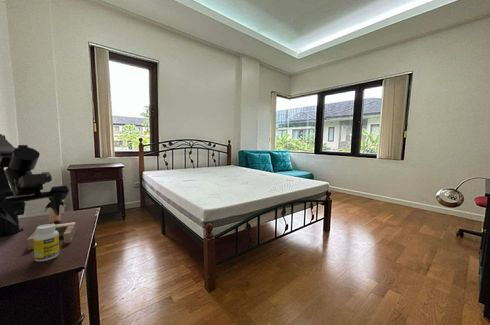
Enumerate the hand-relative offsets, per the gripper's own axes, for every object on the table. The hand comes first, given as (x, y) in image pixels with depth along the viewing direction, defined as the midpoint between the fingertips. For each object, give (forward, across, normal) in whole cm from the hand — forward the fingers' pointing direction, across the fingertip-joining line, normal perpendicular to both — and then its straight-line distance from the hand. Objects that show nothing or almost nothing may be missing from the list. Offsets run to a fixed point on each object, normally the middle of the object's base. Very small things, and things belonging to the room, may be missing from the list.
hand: (39, 219), depth 62 cm
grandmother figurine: (-12, +14, +28) cm, 33 cm away
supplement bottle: (+11, 0, +5) cm, 12 cm away
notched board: (+2, +6, +13) cm, 15 cm away
